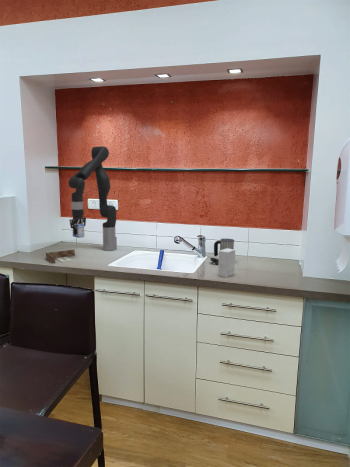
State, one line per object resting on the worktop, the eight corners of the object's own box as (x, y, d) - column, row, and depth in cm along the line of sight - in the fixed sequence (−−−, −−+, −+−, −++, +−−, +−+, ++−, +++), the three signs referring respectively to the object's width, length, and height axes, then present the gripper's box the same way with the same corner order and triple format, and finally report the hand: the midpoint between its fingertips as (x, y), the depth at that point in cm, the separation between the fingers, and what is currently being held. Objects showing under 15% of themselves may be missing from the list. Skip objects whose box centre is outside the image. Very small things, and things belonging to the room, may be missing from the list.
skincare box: (226, 272, 203) (227, 247, 200) (234, 274, 199) (235, 249, 196) (217, 275, 197) (218, 250, 194) (226, 277, 193) (227, 251, 190)
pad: (66, 257, 235) (66, 256, 235) (72, 260, 226) (72, 260, 226) (56, 258, 231) (56, 258, 231) (61, 262, 222) (61, 261, 222)
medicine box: (72, 236, 231) (72, 223, 230) (78, 235, 234) (78, 222, 233) (78, 238, 226) (78, 224, 224) (84, 237, 229) (84, 224, 227)
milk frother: (234, 260, 231) (235, 238, 228) (231, 266, 216) (232, 243, 213) (213, 258, 235) (214, 237, 232) (208, 264, 220) (209, 241, 217)
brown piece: (74, 255, 241) (73, 249, 241) (82, 259, 230) (82, 253, 229) (46, 258, 230) (45, 253, 229) (52, 263, 218) (52, 257, 218)
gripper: (74, 209, 219) (75, 236, 222) (89, 207, 232) (89, 232, 235) (65, 209, 222) (66, 235, 225) (80, 207, 235) (81, 231, 238)
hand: (78, 233), depth 230 cm, fingers closed on medicine box, 5 cm apart
